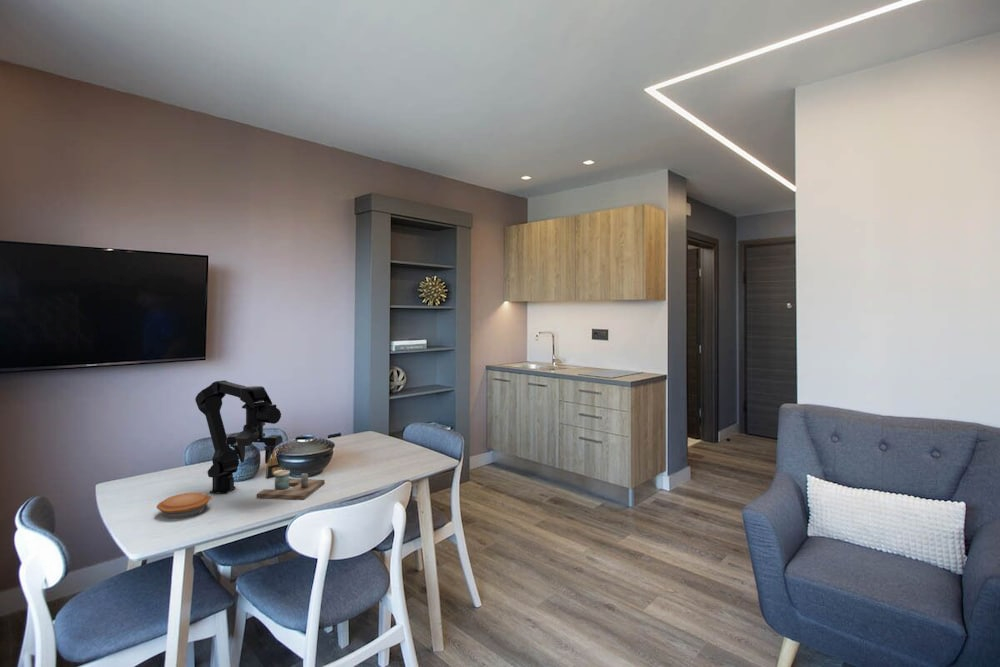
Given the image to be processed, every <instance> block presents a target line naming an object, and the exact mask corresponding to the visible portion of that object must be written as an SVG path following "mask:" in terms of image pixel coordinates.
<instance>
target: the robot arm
mask: <svg viewBox="0 0 1000 667" xmlns="http://www.w3.org/2000/svg"><path fill="white" fill-rule="evenodd" d="M226 395H229V396H233V397H236V398H238V399H239V401H241V402H243V403H244V404H243V405H242V406H241V408H242V409H245V424H244V425H243V428H242V429H243V430H242V431H240V432H239V433H234V434H230V435H229V436H227V432H226V428H225V426H224V422H223V418H222V414H221V409H222V406H223V399H224V397H225V396H226ZM194 400H195V403H196V407H197V408H198V411H200V412H201V413H202V414H203V415H204V416H205V419H206V422H207V427H208V430H209V434H210V437H211V442H212V444H213V449H214V453H213V457H212V458H211V459H212V460H211V462H212V465H211V467H210V468H208V470H207V476H208V478H212V481H211V482H212V487H211V488H212V490H210V491H209V493H210V494H211V493H212V494H227V493H229V492H231V491H233V490H234V489H236V486H235V477H234V473H237V472H238V468H239V465H240V464H243V463H244V462H245V456H246V447H250V446H251V445H252V443H261V444H262V443H263V444H264V446H263V449H264V450H265V454H264V463H265V464H266V465H267V463H268V461H269V459H270V457H271V458H272V452H273V451H274V450H275V449H276V447H277V446H279V445H280V444H282V443H283V442H284V441H283V436H282V435H280V434H271V435H268V436H266V433H265V432H264V426H265V425H266V424H273V425H275V424H277V423H279V421H280V420H281V418H282V413H281V410H280V409H279V408H278V407H277V404H275V403H274V404H273V402H272V399H271V398H270V395H269V394H268V393H267V390H266V389H265V387H264V386H260V385H259V386H257V385H256V386H255V385H254V386H245V385H242V384H239V383H234V382H230V381H228V380H225V379H224V380H216V381H214V382H211V384H210V385H209V386H207V387H205V388H204V389H202V390H201V391H199V392H198V393H197V394H196V397H195V398H194ZM265 436H266V437H265ZM240 462H241V463H240Z"/></svg>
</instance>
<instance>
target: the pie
mask: <svg viewBox="0 0 1000 667" xmlns="http://www.w3.org/2000/svg"><path fill="white" fill-rule="evenodd" d="M211 499H212V498H211V496H210V495H208V494H205V493H204V492H203V493H202V492H187V493H185V492H184V493H180V494H175V495H173V496H170V497H167V498H165V499H163V500H162V501H160V502H158V504H157V505H156V509H157V510H158V511H160V512H161V513H162V515H163V516H164V517H166V518H168V519H183V518H188V517H192V516H195V515H197V514H199V513H202V512H203V510H204V509H205V508H206V506H207V505H208V503H209V502H210V501H211Z"/></svg>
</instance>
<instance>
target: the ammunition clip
mask: <svg viewBox="0 0 1000 667" xmlns="http://www.w3.org/2000/svg"><path fill="white" fill-rule="evenodd" d="M289 447H291V448H292V445H289ZM281 448H283V446H281ZM281 448H279V447H277V448H276V450H275V449H274V451H273V452H272V455H271V457H270V459H269V461H268V463H267V464H266V469H265V470H266V472H265V478H266V479H271V478H275V476H274V472H275V471H277V470H282V469H281V467H280V466H279V464H278V462H277V457H276V455H277V453H278V451H279V452H280V450H279V449H281ZM285 448H287V449H288V447H287V445H286V446H285V447H284V449H285Z"/></svg>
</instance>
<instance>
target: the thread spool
mask: <svg viewBox="0 0 1000 667" xmlns="http://www.w3.org/2000/svg"><path fill="white" fill-rule="evenodd" d="M290 475H291V474H290V470H285V469H284V470H277V471H275V472H274V476H275V477H274V488H273V490H290V489H291V487H290V486H289V478H290Z"/></svg>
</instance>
